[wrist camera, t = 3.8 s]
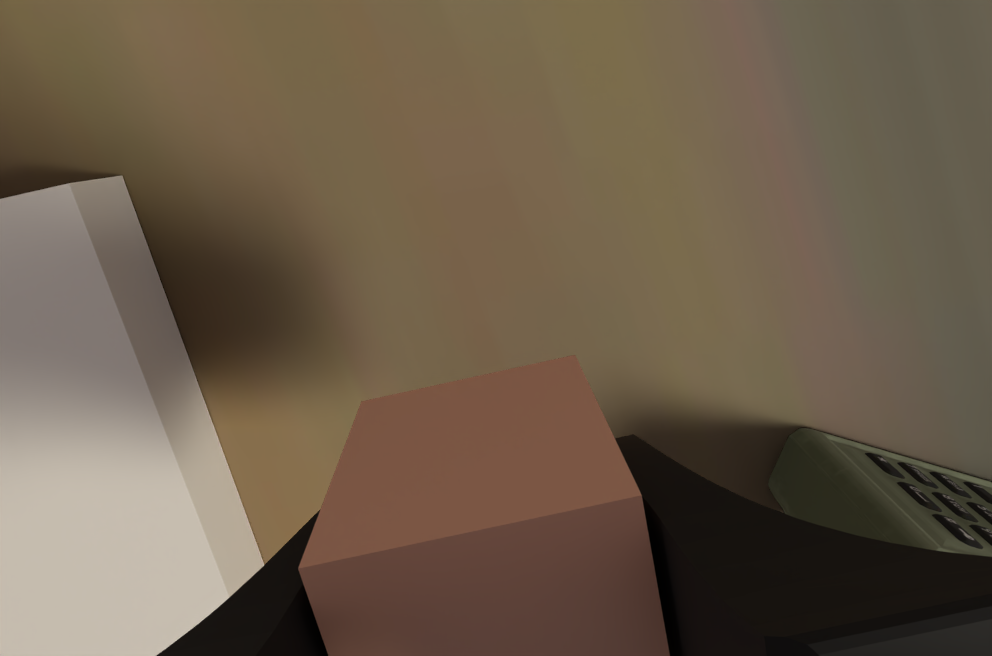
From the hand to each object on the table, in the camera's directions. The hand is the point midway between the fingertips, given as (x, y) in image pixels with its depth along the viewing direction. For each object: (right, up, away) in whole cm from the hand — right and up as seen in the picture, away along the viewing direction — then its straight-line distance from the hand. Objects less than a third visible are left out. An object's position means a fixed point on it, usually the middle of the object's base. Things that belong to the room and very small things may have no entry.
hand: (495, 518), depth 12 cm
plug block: (0, 0, +1) cm, 2 cm away
